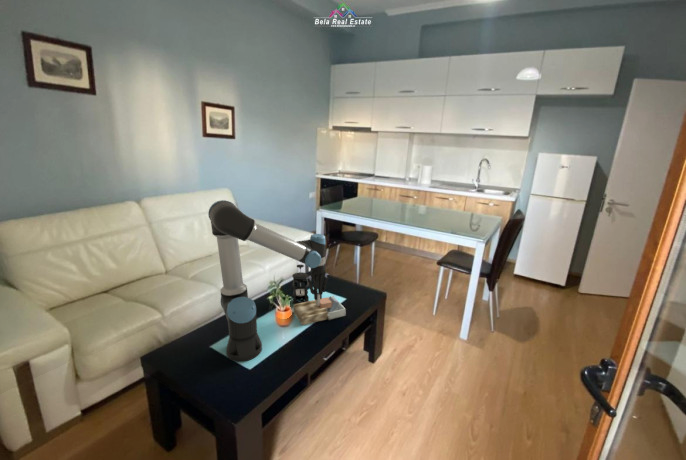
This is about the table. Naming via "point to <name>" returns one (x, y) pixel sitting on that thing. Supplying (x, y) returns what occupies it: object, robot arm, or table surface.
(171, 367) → the table surface
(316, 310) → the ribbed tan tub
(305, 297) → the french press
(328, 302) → the terracotta tile
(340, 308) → the tray
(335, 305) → the slate tile
